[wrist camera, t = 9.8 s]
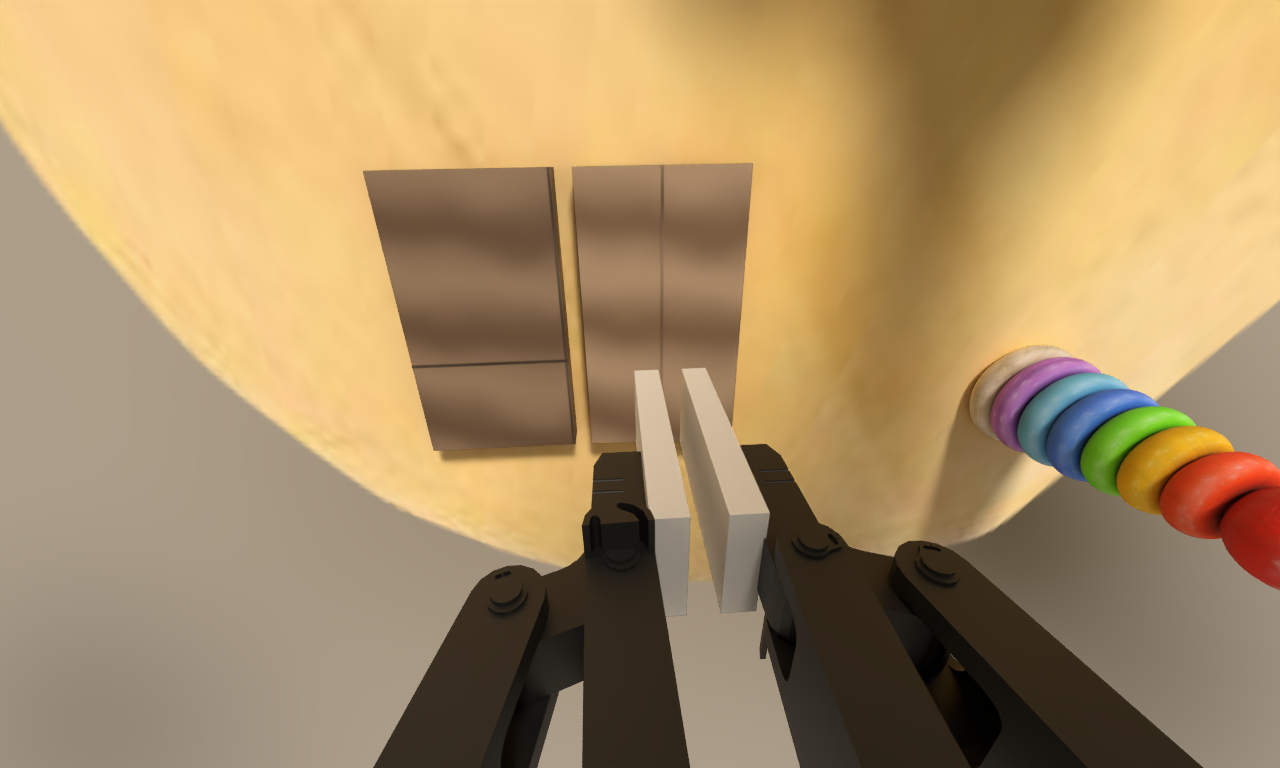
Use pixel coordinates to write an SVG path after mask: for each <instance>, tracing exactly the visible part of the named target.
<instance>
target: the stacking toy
mask: <svg viewBox="0 0 1280 768" xmlns="http://www.w3.org/2000/svg"><path fill="white" fill-rule="evenodd" d="M969 410H970V416H971V419H972V421H973V423H974V425H975V426H976V427H977V428H978V430H979V431H980V432H982V433H983V434H984V435H986V436H988V437H990V438H992V439H995V440H998V441H1001V442H1002V443H1003V444H1005V445H1006V446H1008V447H1009V448H1012V449H1014V450H1016V451H1020V452H1025V453H1026V454H1027V455H1028V456H1029V457H1031V458H1032V459H1033V460H1035V461H1037V462H1039V463H1041V464H1044V465H1047V466H1052V467H1054V468H1055V469H1056V470H1057V471H1059V472H1060V473H1061V474H1063V475H1065V476H1067V477H1069V478H1072V479H1075V480H1079V481H1086V482H1089V483H1090V484H1091V485H1092V486H1093V487H1095V488H1096V489H1098V490H1099V491H1102V492H1104V493H1106V494H1110V495H1114V496H1120V497H1122V498H1123V499H1124V500H1125V501H1126V502H1127V503H1128V504H1129V505H1130V506H1132V507H1134V508H1136V509H1137V510H1140V511H1143V512H1146V513H1150V514H1156V515H1163V517H1164V519H1165V520H1166V521H1167V522H1168V523H1169V524H1170V525H1171V526H1172V527H1174V528H1175V529H1176V530H1178V531H1180V532H1182V533H1184V534H1186V535H1189V536H1192V537H1196V538H1202V539H1218V538H1222V540H1223V542H1224V545H1225V547H1226V549H1227V550H1228V552H1229V553H1230V555H1231V556H1232V557H1233V558H1234V560H1235V561H1236V562H1237V563H1238V564H1239V565H1240V566H1241V567H1242V568H1243V569H1244V570H1246V571H1247V572H1248V573H1250V574H1251V575H1252V576H1254V577H1256V578H1257V579H1259V580H1260V581H1262V582H1264V583H1265V584H1267V585H1269V586H1271V587H1273V588H1276V589H1278V590H1280V471H1279V469H1278V468H1277V467H1276V466H1275V465H1274V464H1272V463H1271V462H1269V461H1268V460H1266V459H1264V458H1262V457H1260V456H1257V455H1254V454H1250V453H1245V452H1234V449H1233V447H1232V445H1231V443H1230V442H1229V441H1228V440H1227V439H1226V438H1225V437H1224V436H1222V435H1221V434H1219V433H1217V432H1216V431H1213V430H1211V429H1208V428H1204V427H1198V426H1196V425H1195V423H1194V422H1193V421H1192V420H1191V419H1190V418H1189V417H1188V416H1186V415H1185V414H1183V413H1181V412H1179V411H1177V410H1174V409H1170V408H1166V407H1159V405H1158V404H1157V403H1156V402H1155V401H1154V400H1153V399H1152V398H1150V397H1149V396H1147V395H1145V394H1143V393H1140V392H1138V391H1134V390H1129V388H1128V387H1127V386H1126V385H1125V384H1124V383H1123V382H1121V381H1120V380H1118V379H1116V378H1114V377H1112V376H1109V375H1106V374H1101V372H1100V371H1099V370H1098V369H1097V368H1096V367H1095V366H1093V365H1092V364H1090V363H1088V362H1086V361H1083V360H1080V359H1077V358H1075V357H1074V356H1073V355H1071V354H1070V353H1068V352H1067V351H1065V350H1063V349H1060V348H1058V347H1054V346H1048V345H1034V346H1027V347H1024V348H1020V349H1017V350H1015V351H1013V352H1010V353H1009V354H1007V355H1005V356H1003V357H1002V358H1000V359H999V360H997V361H996V362H995V363H993V364H992V365H991V366H990V367H989V368H988V369H987V370H985V372H984V373H983V374H982V375H981V376H980V378H979V379H978V381H977V382H976V384H975V386H974V388H973V390H972V393H971V396H970V402H969Z"/></svg>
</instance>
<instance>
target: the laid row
mask: <svg viewBox="0 0 1280 768" xmlns="http://www.w3.org/2000/svg"><path fill="white" fill-rule="evenodd" d="M363 174H364V178H365V182H366V186H367V190H368V194H369V197H370V201H371V205H372V209H373V213H374V217H375V221H376V225H377V229H378V233H379V237H380V241H381V245H382V249H383V253H384V257H385V261H386V265H387V268H388V272H389V276H390V280H391V284H392V288H393V292H394V296H395V300H396V304H397V308H398V312H399V316H400V320H401V324H402V328H403V332H404V336H405V339H406V343H407V347H408V351H409V355H410V359H411V363H412V368H413V371H414V375H415V379H416V383H417V387H418V391H419V395H420V399H421V403H422V406H423V410H424V414H425V418H426V422H427V426H428V430H429V434H430V438H431V442H432V446H433V450H434V451H440V450H461V449H481V448H501V447H521V446H541V445H561V444H575V443H576V435H577V426H576V415H575V404H574V392H573V381H572V370H571V359H570V348H569V337H568V326H567V314H566V303H565V292H564V281H563V270H562V259H561V248H560V236H559V225H558V214H557V203H556V192H555V181H554V170H553V167H534V168H482V169H430V170H378V171H363Z"/></svg>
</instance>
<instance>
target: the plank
mask: <svg viewBox="0 0 1280 768" xmlns="http://www.w3.org/2000/svg"><path fill="white" fill-rule="evenodd" d="M752 172H753V163H742V164H690V165H638V166H586V167H572V176H573V190H574V203H575V217H576V230H577V244H578V257H579V271H580V284H581V298H582V311H583V325H584V339H585V352H586V366H587V379H588V393H589V406H590V420H591V433H592V443H619V442H636V420H635V383H634V371H639V370H658V371H659V375H660V380H661V385H662V389H663V394H664V398H665V403H666V407H667V412H668V417H669V421H670V426H671V430H672V435H673V439H674V441H680V413H681V371H682V369H689V368H706V370H707V372H708V375H709V377H710V379H711V381H712V384H713V386H714V388H715V391H716V393H717V395H718V397H719V400H720V402H721V404H722V406H723V409H724V411H725V413H726V415H727V418H728V420H729V422H730V424H731V427H732V419H733V406H734V394H735V382H736V369H737V357H738V345H739V332H740V320H741V307H742V295H743V283H744V270H745V258H746V246H747V233H748V221H749V209H750V196H751V184H752Z"/></svg>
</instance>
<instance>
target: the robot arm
mask: <svg viewBox="0 0 1280 768" xmlns="http://www.w3.org/2000/svg"><path fill="white" fill-rule="evenodd" d="M634 383H635V420H636V448H637V452H616V453H602V455H601V456H600V458H599V459H598V460H597V462H596V463H595V465H594V472H593V490H592V507H591V510H590V511H589V512H588V513H587V514H586V515H585V517H584V520H583V524H582V532H583V542H584V553H583V554H582V555H581V557H580V558H579V559H578V560H577V561H575V562H574V563H572V564H571V565H569V566H568V567H565V568H563V569H561V570H559V571H556V572H553V573H550V574H547V575H544V576H541V575H540V574H539V573H537V571H535V570H534V569H532V568H529V567H526V566H522V565H518V566H506V567H503V568H501V569H498V570H495V571H492V572H491V573H490V574H488V575H487V576H485V577H484V578H482V579H481V580H480V581H479V583H478V584H477V585H476V586H475V587H474V589H473V590H472V591H471V593H470V595H469V597H468V598H467V600H466V602H465V604H464V605H463V607H462V609H461V611H460V613H459V615H458V616H457V618H456V620H455V622H454V623H453V625H452V627H451V629H450V631H449V632H448V634H447V636H446V638H445V640H444V642H443V643H442V645H441V647H440V649H439V650H438V652H437V654H436V656H435V658H434V659H433V661H432V663H431V665H430V667H429V668H428V670H427V672H426V674H425V676H424V677H423V680H422V681H421V683H420V685H419V686H418V688H417V690H416V692H415V694H414V695H413V697H412V699H411V701H410V703H409V704H408V706H407V708H406V710H405V712H404V714H403V715H402V717H401V719H400V721H399V722H398V724H397V726H396V728H395V730H394V731H393V733H392V735H391V737H390V739H389V740H388V742H387V744H386V746H385V748H384V749H383V751H382V753H381V755H380V757H379V758H378V760H377V762H376V764H375V766H374V767H373V768H537V766H538V763H539V759H540V756H541V752H542V748H543V745H544V742H545V739H546V735H547V731H548V728H549V725H550V721H551V718H552V714H553V711H554V707H555V704H556V700H557V697H558V693H559V691H560V690H563V689H565V688H567V687H570V686H572V685H574V684H577V683H579V682H581V681H584V683H583V687H584V688H583V753H582V756H583V757H582V768H690V764H689V758H688V753H687V746H686V739H685V734H684V728H683V721H682V716H681V709H680V703H679V696H678V690H677V684H676V678H675V672H674V665H673V660H672V653H671V647H670V641H669V635H668V629H667V623H666V617H667V616H683V615H686V614H687V592H688V568H689V543H690V518H691V517H690V513H689V508H688V503H687V499H686V494H685V490H684V485H683V481H682V476H681V471H680V467H679V462H678V458H677V453H676V449H675V444H674V439H673V435H672V430H671V426H670V421H669V417H668V412H667V407H666V403H665V398H664V394H663V389H662V385H661V380H660V375H659V371H658V370H639V371H634ZM680 444H681V449H682V453H683V457H684V461H685V465H686V469H687V474H688V478H689V482H690V486H691V490H692V495H693V499H694V503H695V507H696V511H697V515H698V520H699V524H700V528H701V532H702V536H703V540H704V545H705V549H706V553H707V557H708V561H709V566H710V570H711V574H712V578H713V582H714V586H715V591H716V594H717V599H718V603H719V607H720V612H721V613H731V612H747V611H756V607H757V600H758V594H759V596H760V599H761V602H762V605H763V608H764V611H765V616H764V623H763V630H762V636H761V642H760V659H765V658H766V653H767V648H768V652H769V655H770V659H771V663H772V666H773V670H774V673H775V677H776V681H777V684H778V688H779V692H780V695H781V699H782V703H783V706H784V710H785V713H786V717H787V721H788V724H789V728H790V732H791V735H792V739H793V743H794V746H795V750H796V753H797V757H798V761H799V764H800V768H1203V767H1202V766H1201V765H1199V764H1198V763H1197V762H1196V761H1195V760H1194V759H1193V758H1192V757H1190V756H1189V755H1188V754H1187V753H1186V752H1185V751H1184V750H1182V749H1181V748H1180V747H1179V746H1178V745H1177V744H1176V743H1174V742H1173V741H1172V740H1171V739H1170V738H1169V737H1167V736H1166V735H1165V734H1164V733H1163V732H1162V731H1161V730H1160V729H1158V728H1157V727H1156V726H1155V725H1154V724H1153V723H1151V722H1150V721H1149V720H1148V719H1147V718H1146V717H1145V716H1143V715H1142V714H1141V713H1140V712H1139V711H1138V710H1137V709H1136V708H1134V707H1133V706H1132V705H1131V704H1130V703H1129V702H1127V701H1126V700H1125V699H1124V698H1123V697H1122V696H1121V695H1120V694H1118V693H1117V692H1116V691H1115V690H1114V689H1113V688H1112V687H1110V686H1109V685H1108V684H1107V683H1106V682H1105V681H1104V680H1102V679H1101V678H1100V677H1099V676H1098V675H1097V674H1096V673H1094V672H1093V671H1092V670H1091V669H1090V668H1089V667H1088V666H1086V665H1085V664H1084V663H1083V662H1082V661H1081V660H1079V659H1078V658H1077V657H1076V656H1075V655H1074V654H1073V653H1072V652H1070V651H1069V650H1068V649H1067V648H1066V647H1065V646H1064V645H1062V644H1061V643H1060V642H1059V641H1058V640H1057V639H1056V638H1054V637H1053V636H1052V635H1051V634H1050V633H1049V632H1047V631H1046V630H1045V629H1044V628H1043V627H1042V626H1041V625H1040V624H1038V623H1037V622H1036V621H1035V620H1034V619H1033V618H1032V617H1030V616H1029V615H1028V614H1027V613H1026V612H1025V611H1023V610H1022V609H1021V608H1020V607H1019V606H1018V605H1017V604H1015V603H1014V602H1013V601H1012V600H1011V599H1010V598H1009V597H1008V596H1006V595H1005V594H1004V593H1003V592H1002V591H1001V590H1000V589H998V588H997V587H996V586H995V585H994V584H993V583H991V582H990V581H989V580H988V579H987V578H986V577H985V576H984V575H982V574H981V573H980V572H979V571H978V570H977V569H975V568H974V567H973V566H972V565H971V564H970V563H969V562H968V561H966V560H965V559H964V558H962V557H961V556H959V555H958V554H956V553H955V552H953V551H952V550H950V549H947V548H945V547H943V546H941V545H938V544H935V543H930V542H926V541H908V542H906V543H904V544H902V545H900V546H899V547H898V549H897V551H896V553H895V556H894V557H891V556H886V555H881V554H876V553H870V552H865V551H861V550H857V549H854V548H851V547H849V546H848V545H847V543H846V542H845V541H844V540H843V539H842V537H841V536H840V535H839V534H838V533H837V532H835V531H834V530H832V529H831V528H829V527H828V526H825V525H822V524H820V523H819V522H818V521H817V519H816V517H815V515H814V514H813V512H812V510H811V508H810V507H809V505H808V503H807V501H806V499H805V498H804V496H803V494H802V492H801V491H800V489H799V487H798V485H797V483H796V482H794V478H793V476H792V475H791V473H790V471H788V468H787V466H786V464H785V462H784V460H783V459H782V457H781V455H780V454H778V453H777V452H776V451H774V450H773V449H772V448H771V447H769V446H768V445H767V444H756V445H739V442H738V440H737V438H736V436H735V433H734V431H733V429H732V427H731V424H730V422H729V420H728V418H727V415H726V413H725V411H724V409H723V406H722V404H721V402H720V400H719V397H718V395H717V393H716V391H715V388H714V386H713V384H712V381H711V379H710V377H709V375H708V372H707V370H706V368H689V369H682V371H681V413H680ZM951 654H952V656H953V657H954V658H955V659H956V660H957V661H958V662H957V661H956V660H955V659H954V658H953V657H952V656H951Z"/></svg>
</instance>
